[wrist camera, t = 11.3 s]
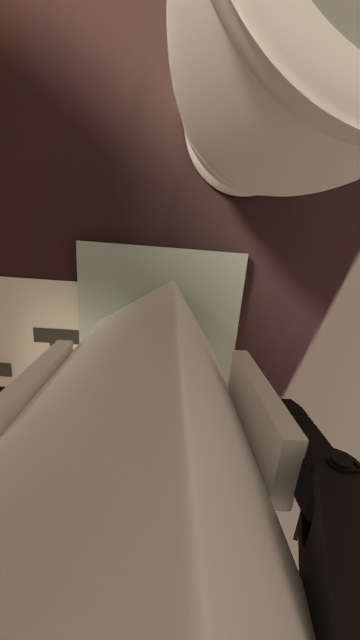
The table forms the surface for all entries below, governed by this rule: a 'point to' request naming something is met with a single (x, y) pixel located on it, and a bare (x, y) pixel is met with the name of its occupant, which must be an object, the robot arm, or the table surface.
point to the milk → (141, 497)
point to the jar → (268, 92)
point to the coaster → (155, 271)
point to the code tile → (34, 320)
